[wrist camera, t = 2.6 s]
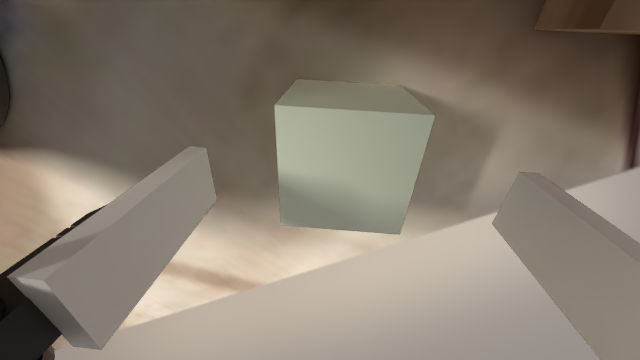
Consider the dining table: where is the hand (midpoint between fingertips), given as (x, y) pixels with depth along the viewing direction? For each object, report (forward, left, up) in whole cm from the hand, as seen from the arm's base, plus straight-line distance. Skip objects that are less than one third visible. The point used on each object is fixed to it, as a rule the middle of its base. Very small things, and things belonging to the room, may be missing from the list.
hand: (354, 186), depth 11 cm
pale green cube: (0, 0, -6) cm, 6 cm away
